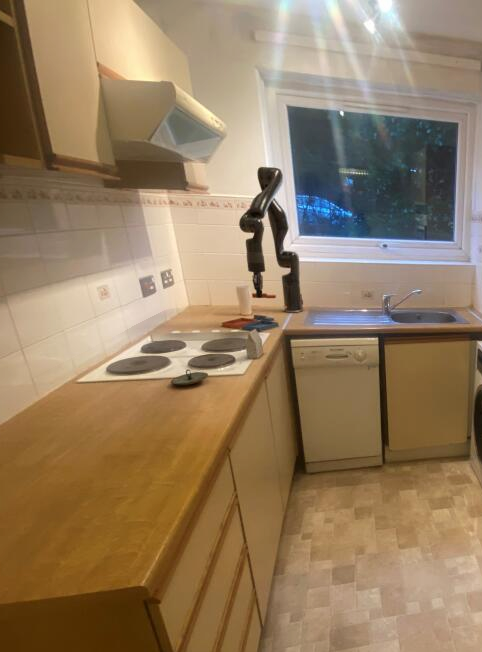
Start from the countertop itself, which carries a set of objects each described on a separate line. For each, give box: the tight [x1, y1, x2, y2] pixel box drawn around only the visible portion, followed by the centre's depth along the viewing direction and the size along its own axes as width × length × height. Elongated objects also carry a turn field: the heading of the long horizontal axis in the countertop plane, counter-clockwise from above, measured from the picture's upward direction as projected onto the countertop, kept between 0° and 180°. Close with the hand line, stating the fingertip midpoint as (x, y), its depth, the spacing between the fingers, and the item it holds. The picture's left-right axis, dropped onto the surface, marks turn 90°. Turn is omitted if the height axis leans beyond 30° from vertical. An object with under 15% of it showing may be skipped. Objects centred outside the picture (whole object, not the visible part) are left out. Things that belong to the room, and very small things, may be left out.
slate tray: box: [241, 320, 279, 333], centre depth 211 cm, size 13×10×2 cm
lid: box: [170, 369, 209, 386], centre depth 139 cm, size 11×10×5 cm
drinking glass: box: [235, 285, 253, 316], centre depth 234 cm, size 7×7×15 cm
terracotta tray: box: [221, 317, 259, 330], centre depth 214 cm, size 13×10×2 cm
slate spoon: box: [253, 314, 275, 322], centre depth 226 cm, size 10×3×2 cm, turn 73°
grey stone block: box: [244, 329, 264, 359], centre depth 168 cm, size 4×7×10 cm, turn 5°
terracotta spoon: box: [251, 292, 277, 299], centre depth 215 cm, size 10×3×2 cm, turn 105°
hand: (259, 297), depth 214 cm, fingers closed on terracotta spoon, 2 cm apart
